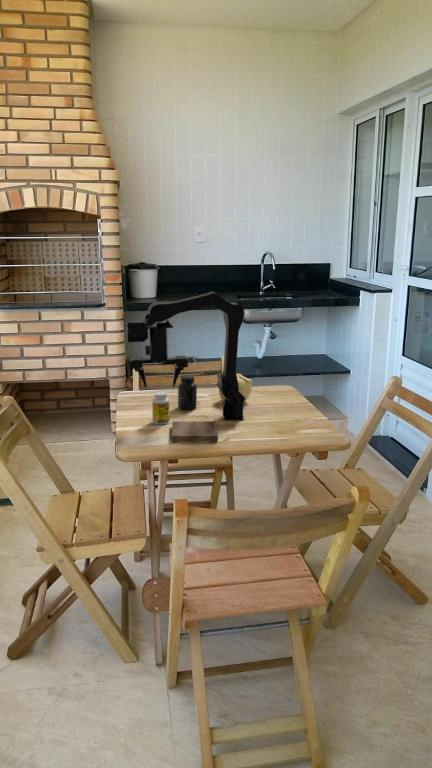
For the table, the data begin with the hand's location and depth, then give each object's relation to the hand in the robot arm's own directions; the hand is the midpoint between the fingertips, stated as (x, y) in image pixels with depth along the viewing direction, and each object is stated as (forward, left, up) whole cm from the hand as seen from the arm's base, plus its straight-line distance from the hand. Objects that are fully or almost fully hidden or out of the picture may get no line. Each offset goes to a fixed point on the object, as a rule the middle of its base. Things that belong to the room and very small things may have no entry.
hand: (159, 387), depth 196 cm
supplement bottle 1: (0, +1, -12) cm, 12 cm away
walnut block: (-11, +13, -12) cm, 21 cm away
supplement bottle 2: (-9, -15, -12) cm, 22 cm away
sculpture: (-27, -23, -12) cm, 38 cm away
